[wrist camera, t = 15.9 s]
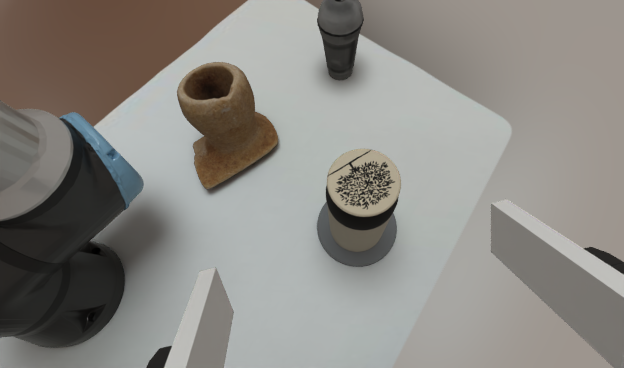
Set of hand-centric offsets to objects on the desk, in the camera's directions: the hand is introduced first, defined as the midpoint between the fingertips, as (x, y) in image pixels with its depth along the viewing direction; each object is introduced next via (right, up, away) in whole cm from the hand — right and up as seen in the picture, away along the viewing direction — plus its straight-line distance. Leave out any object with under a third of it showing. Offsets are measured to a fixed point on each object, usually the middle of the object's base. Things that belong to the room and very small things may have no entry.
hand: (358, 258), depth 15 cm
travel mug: (+5, -3, +35) cm, 35 cm away
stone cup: (-16, +10, +42) cm, 46 cm away
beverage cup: (+3, +25, +47) cm, 53 cm away
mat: (+5, -3, +35) cm, 35 cm away
